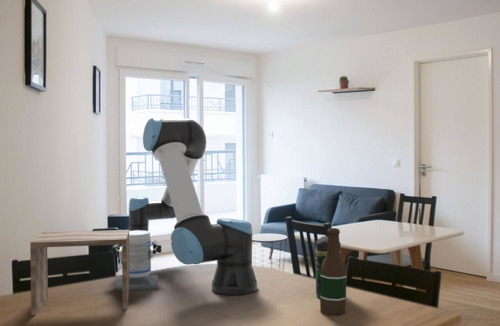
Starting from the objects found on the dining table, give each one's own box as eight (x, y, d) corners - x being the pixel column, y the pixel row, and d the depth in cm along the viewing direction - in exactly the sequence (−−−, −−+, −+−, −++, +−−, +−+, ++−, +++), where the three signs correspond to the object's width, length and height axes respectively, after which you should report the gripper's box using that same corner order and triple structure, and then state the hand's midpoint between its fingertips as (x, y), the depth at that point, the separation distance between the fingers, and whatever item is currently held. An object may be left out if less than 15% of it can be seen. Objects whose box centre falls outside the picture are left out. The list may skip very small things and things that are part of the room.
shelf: (126, 309, 142) (126, 239, 141) (31, 315, 137) (30, 242, 136) (129, 292, 158) (129, 229, 157) (43, 297, 152) (42, 232, 152)
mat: (157, 288, 162) (157, 285, 162) (114, 291, 159) (114, 288, 159) (157, 277, 176) (157, 274, 176) (117, 279, 173) (117, 276, 173)
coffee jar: (315, 290, 161) (315, 234, 160) (339, 291, 160) (340, 235, 159) (315, 299, 151) (315, 240, 151) (341, 300, 150) (341, 240, 150)
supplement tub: (155, 276, 166) (155, 233, 166) (128, 280, 161) (127, 236, 160) (144, 269, 174) (144, 229, 174) (118, 273, 169) (118, 231, 169)
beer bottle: (340, 318, 135) (341, 232, 134) (314, 313, 139) (315, 229, 138) (350, 310, 141) (351, 228, 141) (325, 305, 146) (326, 225, 145)
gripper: (167, 250, 187) (169, 264, 165) (107, 252, 183) (101, 267, 161) (167, 230, 187) (169, 242, 165) (107, 232, 183) (101, 244, 161)
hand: (136, 254), depth 163 cm, fingers closed on supplement tub, 9 cm apart
